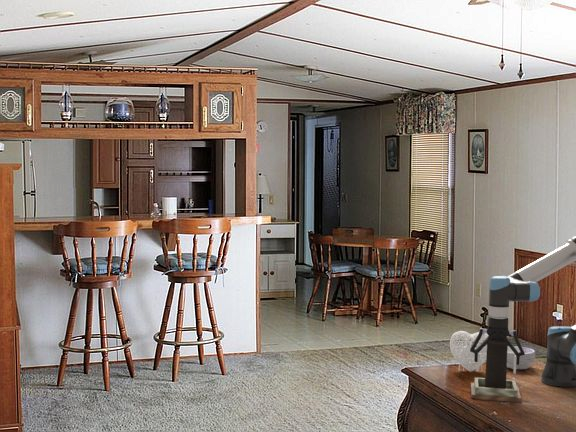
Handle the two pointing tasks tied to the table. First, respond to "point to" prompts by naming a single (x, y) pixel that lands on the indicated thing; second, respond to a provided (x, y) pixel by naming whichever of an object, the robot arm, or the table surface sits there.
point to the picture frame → (495, 391)
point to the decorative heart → (467, 349)
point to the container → (496, 364)
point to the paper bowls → (523, 360)
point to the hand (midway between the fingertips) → (496, 371)
